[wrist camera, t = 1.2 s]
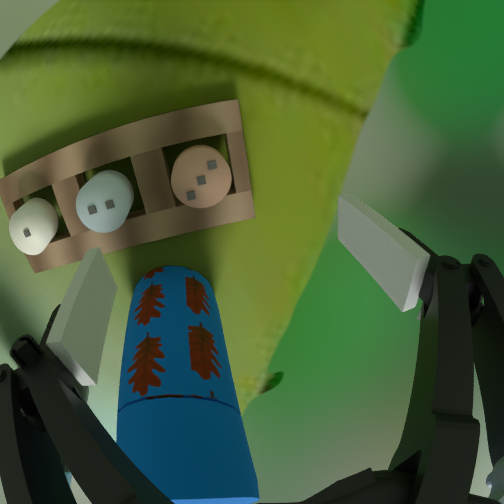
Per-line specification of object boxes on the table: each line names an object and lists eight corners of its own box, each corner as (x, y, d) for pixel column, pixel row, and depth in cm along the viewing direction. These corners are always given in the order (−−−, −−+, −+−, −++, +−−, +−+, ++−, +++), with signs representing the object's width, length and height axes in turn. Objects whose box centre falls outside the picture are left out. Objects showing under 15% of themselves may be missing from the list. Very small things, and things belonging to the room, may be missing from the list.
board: (40, 264, 27) (34, 273, 26) (4, 176, 21) (-5, 182, 19) (251, 210, 30) (255, 217, 29) (234, 99, 24) (238, 99, 22)
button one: (32, 245, 24) (21, 260, 21) (15, 205, 21) (1, 218, 18) (65, 234, 24) (54, 249, 22) (48, 191, 22) (34, 202, 19)
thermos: (116, 282, 31) (86, 495, 10) (195, 251, 31) (231, 491, 10) (158, 338, 37) (167, 514, 16) (227, 314, 37) (275, 499, 16)
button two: (95, 224, 25) (86, 239, 22) (79, 178, 22) (67, 189, 19) (140, 211, 25) (135, 226, 23) (126, 163, 23) (118, 172, 20)
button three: (179, 201, 26) (178, 214, 23) (167, 151, 23) (164, 158, 20) (230, 190, 26) (236, 202, 24) (222, 139, 24) (226, 145, 21)
